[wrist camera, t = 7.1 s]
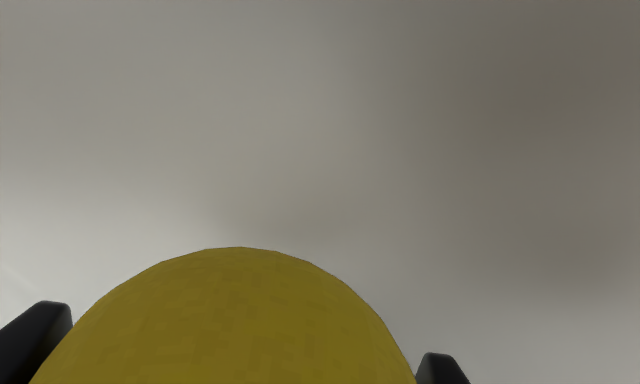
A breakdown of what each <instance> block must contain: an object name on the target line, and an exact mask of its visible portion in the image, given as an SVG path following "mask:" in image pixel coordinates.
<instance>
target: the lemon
mask: <svg viewBox="0 0 640 384" xmlns="http://www.w3.org/2000/svg"><path fill="white" fill-rule="evenodd" d="M29 384H417V382H416V380H415V378H414V375H413V373H412V371H411V369H410V366H409V364H408V362H407V361H406V359H405V357H404V356H403V354H402V352H401V351H400V349H399V347H398V346H397V344H396V342H395V340H394V339H393V337H392V335H391V334H390V332H389V330H388V329H387V327H386V325H385V324H384V322H383V320H382V319H381V318H380V317H379V316H378V315H377V314H376V312H375V311H374V310H373V309H372V308H371V307H370V306H369V305H368V304H367V303H366V302H365V301H364V300H363V299H362V298H360V297H359V296H358V295H357V294H356V293H355V292H354V291H353V290H352V289H351V288H350V287H349V286H348V285H346V284H345V283H344V282H342V281H341V280H339V279H338V278H336V277H335V276H333V275H331V274H329V273H328V272H326V271H324V270H322V269H320V268H319V267H317V266H315V265H313V264H312V263H310V262H308V261H304V260H301V259H298V258H295V257H292V256H289V255H286V254H283V253H280V252H277V251H271V250H263V249H255V248H247V247H228V248H214V249H205V250H201V251H197V252H193V253H190V254H186V255H183V256H180V257H176V258H173V259H169V260H166V261H162V262H160V263H158V264H156V265H154V266H152V267H150V268H148V269H146V270H144V271H143V272H141V273H139V274H138V275H136V276H134V277H132V278H131V279H129V280H127V281H126V282H124V283H122V284H120V285H119V286H117V287H115V288H114V289H113V290H111V291H110V292H109V293H107V294H106V295H105V296H103V297H102V298H101V299H99V300H98V301H97V302H96V303H95V304H94V305H93V306H92V307H91V308H90V309H89V310H88V311H87V312H86V313H85V314H84V315H83V316H82V317H81V318H80V319H79V320H78V322H77V323H76V324H75V325H74V326H73V327H72V329H71V330H70V331H69V332H68V333H67V335H66V336H65V337H64V338H63V339H62V340H61V342H60V343H59V344H58V345H57V346H56V348H55V349H54V350H53V351H52V353H51V354H50V355H49V356H48V357H47V359H46V360H45V361H44V362H43V364H42V365H41V366H40V368H39V369H38V371H37V372H36V373H35V375H34V376H33V378H32V379H31V381H30V382H29Z"/></svg>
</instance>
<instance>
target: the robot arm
mask: <svg viewBox="0 0 640 384" xmlns="http://www.w3.org/2000/svg"><path fill="white" fill-rule="evenodd" d="M72 327H73V323H72V316H71V310H70V307H69V306H68V305H67V304H65V303H60V302H52V301H40V302H38V303H36V304H34V305H33V306H32V307H30V308H29V309H28V310H26V311H25V312H24V313H22V314H21V315H20V316H18V317H17V318H15V319H14V320H13V321H11V322H10V323H9V324H7V325H6V326H5V327H3V328H2V329H1V330H0V384H29V382H30V381H31V379H32V378H33V376H34V375H35V373H36V372H37V371H38V369H39V368H40V366H41V365H42V364H43V362H44V361H45V360H46V359H47V357H48V356H49V355H50V354H51V353H52V351H53V350H54V349H55V348H56V346H57V345H58V344H59V343H60V342H61V340H62V339H63V338H64V337H65V336H66V335H67V333H68V332H69V331H70V330H71V329H72ZM415 380H416V382H417V384H471V383H470V382H469V380H468V379H467V377H466V376H465V374H464V373H463V371H462V370H461V368H460V367H459V365H458V364H457V362H456V361H455V360H454V358H453V357H451V356H450V355H446V354H439V353H431V352H428V353H426V354H425V355H424V356H423V358H422V361H421V363H420V366H419V368H418V371H417V373H416V376H415Z"/></svg>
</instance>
